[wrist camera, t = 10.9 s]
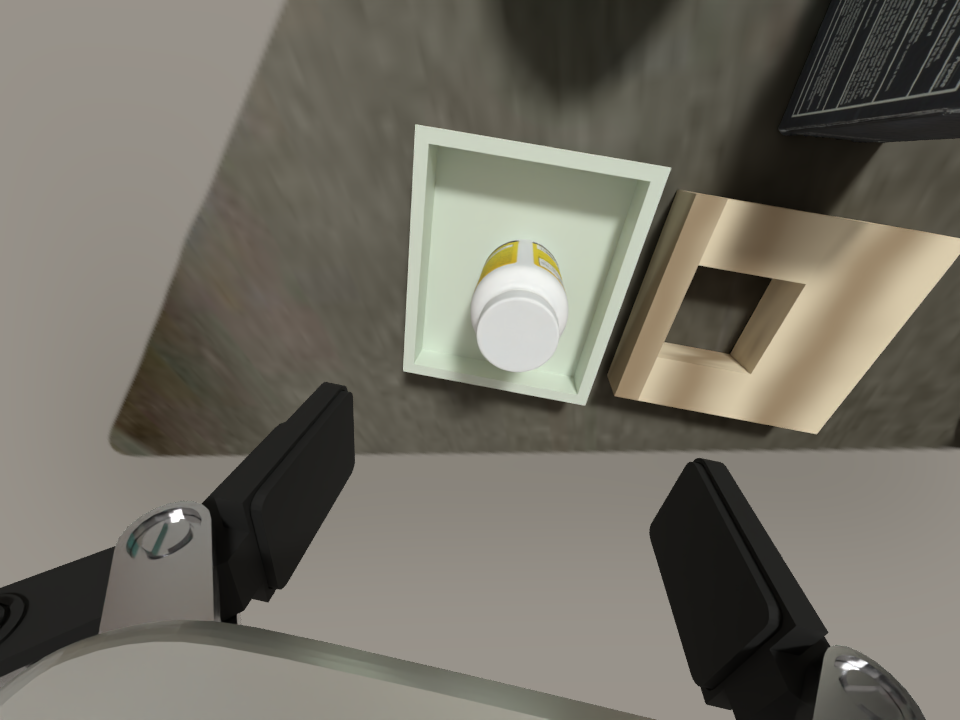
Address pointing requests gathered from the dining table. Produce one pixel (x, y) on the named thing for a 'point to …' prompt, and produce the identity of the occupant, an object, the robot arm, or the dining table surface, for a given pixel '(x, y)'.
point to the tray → (510, 216)
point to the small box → (881, 73)
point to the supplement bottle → (519, 306)
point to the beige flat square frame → (775, 309)
